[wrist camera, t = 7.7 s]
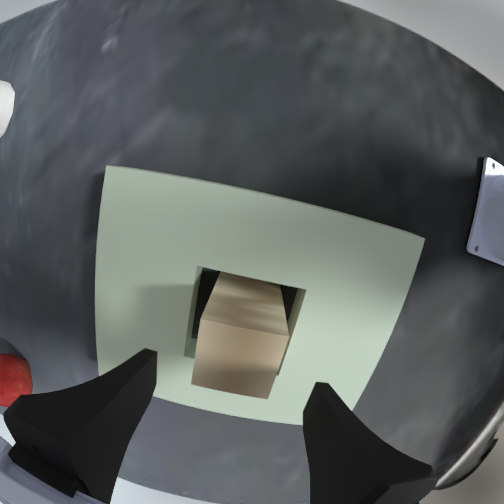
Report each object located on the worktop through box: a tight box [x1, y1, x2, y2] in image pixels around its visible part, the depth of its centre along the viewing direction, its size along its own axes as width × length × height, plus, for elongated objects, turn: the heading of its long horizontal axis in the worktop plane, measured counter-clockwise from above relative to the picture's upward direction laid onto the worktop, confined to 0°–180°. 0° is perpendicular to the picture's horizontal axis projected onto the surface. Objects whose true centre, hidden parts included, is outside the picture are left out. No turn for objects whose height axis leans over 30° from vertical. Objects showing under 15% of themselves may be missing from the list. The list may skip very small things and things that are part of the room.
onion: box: [0, 354, 33, 407], centre depth 19 cm, size 6×6×8 cm
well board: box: [95, 166, 425, 425], centre depth 19 cm, size 20×16×2 cm
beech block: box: [191, 271, 289, 399], centre depth 16 cm, size 4×4×7 cm
